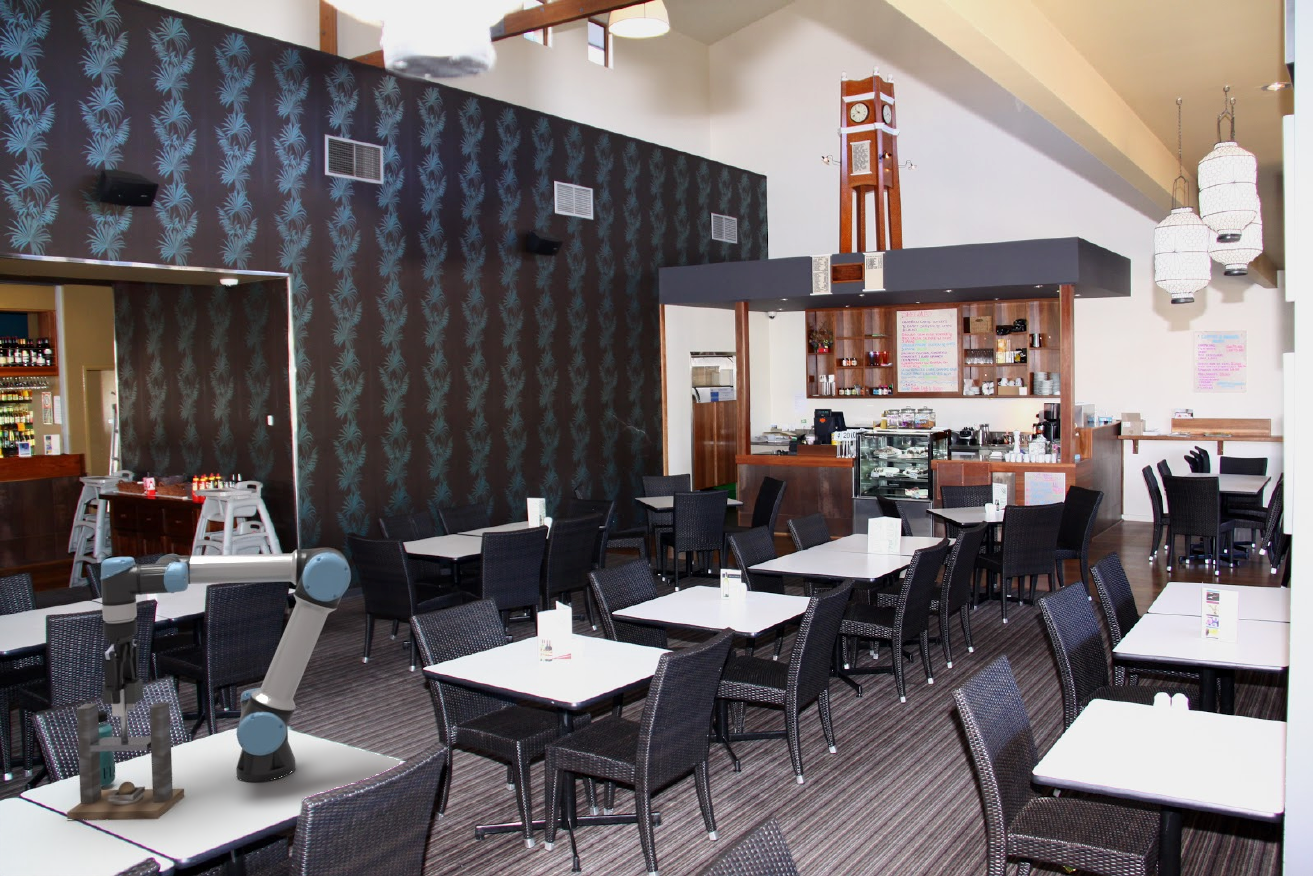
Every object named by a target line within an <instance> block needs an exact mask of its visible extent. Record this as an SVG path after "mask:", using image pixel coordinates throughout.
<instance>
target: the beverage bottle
mask: <svg viewBox="0 0 1313 876" xmlns="http://www.w3.org/2000/svg"><path fill="white" fill-rule="evenodd" d="M108 720H109V717H108V712H107V711H98V723H99V740H100V739H102V738H103V737H114V734H113V733H114V732H113V731H114V727H113V726H112V725H111V724H109V723H106V721H108ZM100 772H101V787H102V786H107V785H110V784H112V783H114V782H115V779H116V763H115V751H100Z"/></svg>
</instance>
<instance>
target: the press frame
mask: <svg viewBox="0 0 1313 876" xmlns="http://www.w3.org/2000/svg"><path fill="white" fill-rule="evenodd" d="M98 704H99V703H84V704H83V705H80V706H79V707H77V708H76V722H77V748H78V749H77V750H78V773H79V795H80V797H79V798H80V802H79V803H78V804H77V805H76V806H74V807H72V808H71V809H70V810H69V811H67V812H66V820H67V819H78V820H77V821H107V820H106V819H108V821H111V820H113V821H114V820H120V821H121V820H156V819H157V820H158V819H160V818H161V817H162V816H163V815H164V814H165V813H166V812H167V811H168V810H170V809H171V808H172V807H174V805H176V804H178V802H180V801H181V800H182V799H183V798H184V797H185V788H174V787H173V765H172V762H173V761H172V738H171V714H170V713H171V712H170V710H171V709H170V707H171V706H170V702H169V701H167V702H165V701H163V702H161V701H160V702H156V703H155V704H152V705H151V706H149V725H150V728H149V729H150V731H149V733H150V737H151V748H150V754H151V755H150V756H151V758H150V760H151V779H152V780H151V782H152V783H151V785H152V788H146V787H145V786H135V790H134V792H133V794H131V795H120V794H119V788H117V789H102V786H101V772H100V751H96V752H90V745H92V744H93V743H95V742H97V741H98V740H99V724H100V723H98V712H99V705H98ZM83 819H84V820H83ZM87 819H88V820H87ZM97 819H99V820H97Z"/></svg>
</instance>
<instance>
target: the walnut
mask: <svg viewBox="0 0 1313 876" xmlns="http://www.w3.org/2000/svg"><path fill="white" fill-rule="evenodd" d="M135 787H136V786H135V784H134V783H133V782H131V781H124V782H122V783H121V784H120V785H119V787H118V789H119V794H120V795H131V794H133V792H134V790H135Z"/></svg>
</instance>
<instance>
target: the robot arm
mask: <svg viewBox="0 0 1313 876" xmlns="http://www.w3.org/2000/svg"><path fill="white" fill-rule="evenodd" d="M347 559H348V558H347V557H346V556H345V555H344V554H343V553H342V552H341V551H340V550H337V549H335V548H331V547H318V548H317V547H316V548H308V549H306V548H304V549H295V550H293V552H292V553H257V554H255V553H254V554H253V553H251V554H247V553H246V554H208V555H206V554H202V555H200V554H199V555H178V554H175V553H169V554H165V555H162V556H161V557H159V558H158V560H156V561H155V563H147V564H137V563H136V562H135V558H134V557H132V556H117V557H110V558H107V559H104V560H103V561H102V562H101V565H100V586H101V587H100V588H101V590H100V591H101V604H102V607H101V611H102V620H103V621H104V622H103V623H102V632H103V633H102V635H103V637H104V639H107V640H108V646H107V647H108V649H107V650H106V651H105V650H103V651H102V652H101V656H102V661H103V672H104V683H105V689H106V690H107V691H111V693H112V704H111V712H112V713H111V715H112V717H120V716H125V703H124V689H122V679H139V677H140V672H139V671H140V669H139V665H140V664H139V661H140V660H139V646H140V645H139V644H140V639H139V638H138V639H137V638H135V639H134V637H133V636H135V635H136V634H138V620H137V619H136V618H137V616H138V612H137V611H138V609H137V596H139V595H140V596H142V595H152V594H169V593H170V594H174V593H179V592H180V593H181V592H185V591H187V590H188V587H189V585H195V584H196V585H198V584H229V583H231V584H234V583H238V584H239V583H242V584H243V583H275V582H276V583H277V582H283V583H284V582H291V583H292V584H293V585H294V586H296V587H295V590H294V592H293V597H294V598H295V601H296V602H295V605H294V608H293V610H292V612H291V615H290V617H289V619H288V622H287V625H286V627H285V629H284V631H283V634H282V637H281V639H280V640H279V644H278V645H277V648H276V650H275V654H274V655H273V658H272V660H271V662H270V664H269V667H268V670H267V672H266V674H265V677H264V679H263V681H262V685H261V686H260V687H256V688H250V689H247V690H244V691H243V692H242V693H241V694H240V700H239V702H240V709H241V711H240V718H239V722H238V725H237V727H236V738H237V741H238V744H239V746H240V747H241V751H240V753H239V758H238V761H237V764H236V769H235V772H236V773H235V774H236V775H237V776H236V778H237V779H238V778H239V779H238V780H240V779H241V780H240V781H242V780H243V781H244V782H247V783H248V782H249V783H257V782H258V783H259V782H260V783H261V781H262V782H269V781H272V780H271V779H274V778H278V779H280V778H279V777H281V776H284V775H286V774H289V773H290V772H291V771H293V770H294V769H295V767H296V766H297V765H296V763H297V762H296V757H295V755H294V753H293V750H292V748H291V745H290V742H289V735H288V733H289V731H288V729H289V728H288V727H289V725H290V722H291V720H292V716H293V715H294V712H295V711H296V704H295V701H294V697H295V694H296V691H297V689H298V687H299V684H300V682H301V680H302V678H303V676H304V672H305V671H306V668H307V665H308V663H309V662H310V658H311V656H312V654H313V651H314V649H315V646H316V644H317V642H318V639H319V637H320V635H321V632H322V631H323V628H324V625H325V622H326V620H327V618H328V615H329V614H330V613H332V612H334V611H336V610H337V609H338V606H339V604H340V602H341V600H342V597H343V595H344V594H345V592H346V591H347V590H348V588H349V586H350V583H351V579H352V572H351V568H350V565H349V562H348V560H347ZM135 704H136V703H135ZM135 704H127V711H135V709H136V705H135ZM296 768H297V767H296ZM295 770H296V769H295ZM295 770H294V771H295ZM294 771H293V772H294ZM289 775H290V774H289ZM284 777H285V776H284ZM281 778H282V777H281ZM268 780H269V781H268ZM274 780H275V779H274ZM243 781H242V782H243Z"/></svg>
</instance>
